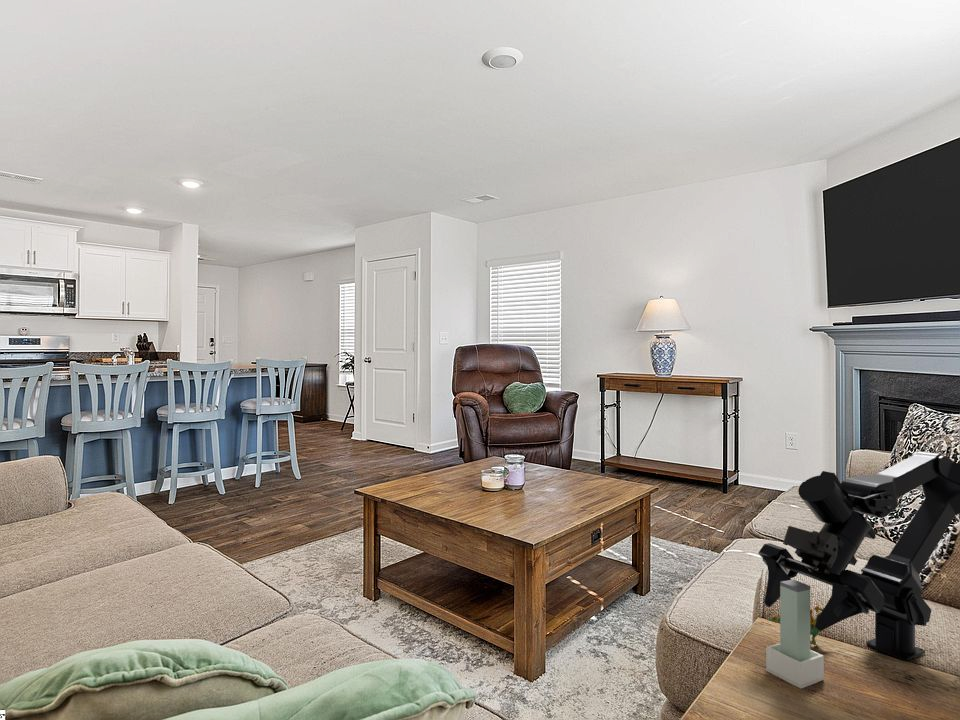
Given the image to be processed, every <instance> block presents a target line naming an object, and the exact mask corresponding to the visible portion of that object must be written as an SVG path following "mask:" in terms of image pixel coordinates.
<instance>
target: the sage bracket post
mask: <svg viewBox="0 0 960 720" xmlns="http://www.w3.org/2000/svg"><path fill="white" fill-rule="evenodd" d="M779 601H780V602H779V604H780V605H779V607H780V609H779V611H780V612H779V615H780V616H779V618H780V623H779V624H780V627H779V628H780V629H779V631H780V632H779V633H780V634H779V638H780V639H779V643H780V653H782V654H784V655H786V656H788V657H790V658H793V659H795V660H797V661H799V662H802V661H804V660H807V659H810V650H811V643H810V641H811V635H810V609H811V585H809V584H807V583H803V582H802V581H799V580H796V579H791V580H787V581H782V582H780V598H779Z"/></svg>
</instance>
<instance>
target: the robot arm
mask: <svg viewBox="0 0 960 720" xmlns="http://www.w3.org/2000/svg"><path fill="white" fill-rule="evenodd" d="M919 487H922V491H923V495H924V500H923V501H922V503H921V504H920V506H919V507H918V509H917V511H916V512H915V514H914V516H913V517H912V518H911V520H910V521H909V522H908V524H907V526H906V528H905V530H904V531H903V533H902V534H901V536H900V537H899V538H898V540H897V541H896V543H895V545H894V547H893V548H892V549H891V551H890V553H889V554H888V555H885V556H884V557H883V556H880V555H876V554H873V555H871V556H870V557H869V558H868V561H866V564H865V566H864V567H862V568H861V569H860V572H861V573H859V572H855V571H853V570H849V569H847V567H848V565H851V566H855V565H857V562H858V559H857V558H856V557H855V554H856V552H858V549H859V548H860V546H861V545H862V543H863V541H864V540H865V538H868V539H871V540H875V539H876V537H877V536H876V531H875V529H874V528H873V522H872V521H868V520H867V519H866V517H865V516H864V515H867V516H871V517H875V518H879V519H883V518H886V517H887V516H889V515H890V514H892V513H893V511H895V510H896V509H897V508H898V507H899V499H900V498H901V497H903V496H905V495H906V494H908V493H909V492H912V491H914V490H915V489H917V488H919ZM797 492H798V495H799V497H800V498H801V500H802V501H803V502H804V503H805V505H806V506H807V507H808V509H809V510H810V512H812V514H813V515H814V517H815V518H816V519H817V520H818V521H820V522H822V523H824V524H823V526H822V527H821V529H820V530H819V532H818V531H815V530H813V531H808V530H806V529H802V528H798V527H795V526H791V525H788V526H787V530H786V532H785V536H784V539H783V541H782V544H783V545H785V546H789V547H791V548H793V549H795V551H794V553H795V555H796V556H797V557H798V558H800V559H801V561H800V560H797V559H795V558H794V557H793V555H792V554H791V553H790V552H789V550H788V549H787V548H786V547H785V548H784V547H782V546H778V545H776V544H773V543H771V542H769V543H768V542H767V543H764V544H763V545H762V546H761V548H760V550H759V551H758V555H759V556H760V558H761V559H762V561H763V563H764V564H765V565H766V567H767V570H768V571H767V572H768V573H767V584H766V591H765V596H764V600H763V601H764V603H763V604H764V605H765V606H766V607H767V608H770V607H771V606H773V605H774V604H775V603H776V602H777V601H778V600H780V582H782V581H787V580H792V579H793V578H795V577H797V576H798V574H800V575H803V576H805V577H809V578H811V579H814V580H816V581H818V582H821V583H824V584H826V585H829V586H832V590H831V596H830V598H829V599H828V601H827V603H826V605H825V606H824V607H823V608H824V609H823V608H822V609H823V611H820V613H821V614H820V616H819V617H818V620H817V622H816V624H815V628H816V629H817V630H818V631H819V632H823V631H822V630H826V629H828V628H830V627H832V626H833V625H835V624H838V623H839V622H842V621H844V620H846V619H848V618H851V617H854V616H857V615H859V614H866V615H867V614H869V613H870V611H871V612H874V613H875V614H874V619H875V620H874V622H875V623H874V635H875V636H874V638H872V639H870V640H867V641H866V642H865V645H866V646H869V647H871V648H873V649H876V650H878V651H879V652H883V653H885V654H888V655H890V656H892V657H895V658H898V659H900V660H902V661H905V662H907V661H910V660H913V659H915V658H917V657H920V656H922V655H924V654H926V650H925V649H924V648H921V647H918V646H916V626H921V627H926V626H927V623H929V622H930V618H931V614H932V608H930V606H929V604H928V603H927V602H926V600H924V598H923V596H922V594H923V585H922V581H921V578H920V577H921V576H920V574H921V572H922V570H924V568H925V566H926V564H927V563H928V561H929V559H930V557H931V556H932V554H933V553H934V551H935V549H936V547H937V546H938V545H939V543H940V541H941V540H942V538H943V536H944V535H945V533H946V532H947V530H948V528H949V527H950V525H951V524H952V522H953V520H954V518H955V516H956V515H959V514H960V463H959V462H956V461H953V459H951V458H950V457H949V456H947V455H944V454H942V453H938V452H929V451H915V452H913V453H911V455H910V456H909V457H907V458H906V459H904V460H901V461H899V462H898V463H896V464H893V465H892V466H890V467H888V468H886V469H884V470H882V471H879V472H877V473H874V474H863V475H862V474H860V475H855V476H851V477H847V478H845V479H844V480H842V481H841V482H840V480H839V477H838V476H837V475H836V473H835V472H830V471H825V470H822V472H820V474H819V475H815V476H812V477H810V478H807V479H806V480H804V481H802V482H801V483H800V484H799V487H798V491H797ZM915 646H916V647H915Z"/></svg>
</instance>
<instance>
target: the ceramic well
mask: <svg viewBox="0 0 960 720" xmlns="http://www.w3.org/2000/svg"><path fill="white" fill-rule="evenodd" d="M765 653H766V656H765V657H766V658H765V661H766V662H765V664H766V666H765V668H766V672H768V673H770V674H772V675H773V676H775V677H777V678H780V679H781V680H783V681H784V682H787V683H789V684H791V685H792V686H794V687H797V688H799V689H804V688H806V687H810V686H812V685H814V684H817V683H820V682H822V681H824V678H825V676H824V674H825V671H824V666H825V664H824V663H825V662H824V659H825V658H824V657H825V656H824V655H823V654H821V653H819V652H816V651H814V650H812V649H810V659H807V660H804V661H802V662H799V661H797V660H795V659H793V658H790V657H788V656H786V655H784V654H782V653H780V642H779V643H775V644H772V645H770V646H769V645H768V646H766V651H765Z"/></svg>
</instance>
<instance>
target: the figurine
mask: <svg viewBox="0 0 960 720" xmlns="http://www.w3.org/2000/svg"><path fill="white" fill-rule="evenodd" d="M824 608H825V607H822V608H821V607H820V606H819V605H816V606H815V607H814V608H813V609H814V610H815V612H816V613H818V614H816V617H815V618H814V616H813V611H814V610H813V609H811V608H810V636H812V637H811V640H810V642H813V643H812V644H813V645H814V646H815V645H816V646H815V647H817V645H818V644H817V641H816V640H815V638H816V637H817V636H818V635H819V633H820V631H818V630H817V629H816V628H815V624H816V622H817V620H818V617H819V616H820V614H821V612H822V611H823V609H824ZM819 611H820V612H819ZM778 616H779V617H778ZM778 616H777V615H772V618H771V617H770V618H767V620H768V621H769V622H773V623H779V624H780V614H778ZM821 632H823V633H824V632H825V633H828V632H829V630H826V629H824V630H822V631H821Z"/></svg>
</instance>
